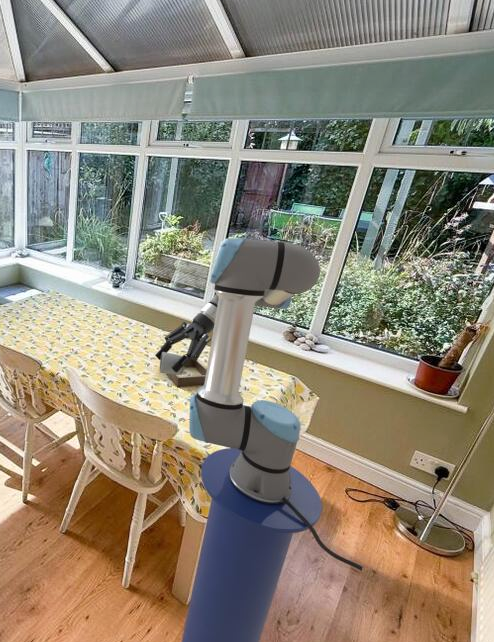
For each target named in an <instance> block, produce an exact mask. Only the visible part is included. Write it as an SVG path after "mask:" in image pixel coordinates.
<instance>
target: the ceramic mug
mask: <svg viewBox="0 0 494 642" xmlns="http://www.w3.org/2000/svg"><path fill="white" fill-rule="evenodd" d="M182 356H183V355H181V354H176V353H170V352H167V353H166V352H162V354H161V359H160V360H159V369H158V371H159V373H160V374H165V375H167V374H174V375H179V376H182V374H183V373H184V370H185V367H184V366H183V367H182V368H181V369H180V370H179V371H178V372H177V373H176V372H175V371H174V370H173V369H172V367H173V366H174V365H175V363H176V362H177V361H178V360H179V359H180V358H181V357H182Z"/></svg>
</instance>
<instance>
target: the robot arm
mask: <svg viewBox="0 0 494 642" xmlns="http://www.w3.org/2000/svg"><path fill="white" fill-rule="evenodd" d="M320 274H321V267H320V263H319V261H318V260H317V257H315V255H313V253H312V252H311V251H309V250H308V249H307V248H305V247H303V246H301V245H299V244H296V243H292V242H287V241H275V240H274V241H273V240H265V239H264V240H262V239H253V238H244V237H227V238H225V239H223V240H222V241H221V243H220V245H219V248H218V250H217V254H216V256H215V259H214V263H213V267H212V270H211V273H210V277H209V283H211V284H214V288H213V291H214V293H215V295H214V297H212V298H211V300H210V301H208V303H207V304H206V305H205V306H204V307H203V308H201V310H200V312H198V313H197V314H195V316H194V317H193V319H192V322H191V323H189V324H188V323H187V322H186V321H183V322H182V323H181V324H180V325H179V326H178V327H177V328H175V329H174V330H172V331H171V332H170V333H169V334H167V335H166V336H165V337H164V340H165V343H164V344H163V345H162V346H161V347H160V349H159V350H158V351H157V352H156V354H154V356H155V357H156V358H157V360H159V361H160V359H161V354H162V352H166V353H169V351H170V350H171V349H172V347H173V345H175V344H177V343H180V342H182V341H184V340H185V339H190V340H191V341H190V343H189V346H188V349H187V352H186V353H185V354H183V355H181V356H182V357H181V358H180V359H179V360H178V361H177V362H176V363H175V365H174V366H173V367H172V369H173V370H174V371H175V372H176V373H177V372H178V371H179V370H180V369H181V368H182V367H183V366H185V365H186V364H187V363H188V362H189V361H190V360H194V361H197V360H198V359H199V358H200V356H201V354H202V353H203V351H204V350H205V348H206V346H207V345H208V344H209V342H211V343H210V349H209V354H208V360H207V366H206V368H207V371H206V377H205V383H204V385H201V386H200V387H198V388H197V390H196V394H195V393H194V394H191V395H190V396H189V422H188V425H189V427H188V430H189V435H190V436H191V438H192V439H193V440H197V441H200V442H203V443H206V444H211V445H215V446H221V447H225V448H233V449H238V450H242V452H241V453H240V455H239V456H238V458H237V459H236V461H235V462H234V463H233V464H232V466H231V468H230V472H229V479H230V482H231V484H232V485H233V487H234V488H235V489H236V490H237V491H238V492H239V493H241V494H242V495H243V496H245V497H246V498H248V499H250V500H252V501H255V502H257V503H260V504H264V505H281V504H284V503H286V504H287V505H288V506H289V507H290V508H291V509H292V510H293V511H294V513H295V514H296V515H297V516H298V517H299V518H300V519H301V520H302V521H303V522H304V523H305V524H306V525H307V527H308V528H309V529H308V530H309V531H310V533H311V534H312V536H313V538H314V539H315V541H316V543H317V544H318V545H319V547H320V548H321V549H322V550H323V551H325V552H326V553H327V554H328V555H329V556H331V557H333V558H334V559H336V560H337V561H339V562H342V563H344V564H346V565H348V566H351V567H353V568H355V569H356V570H359V571H363V569H364V566H362V565H360V564H359V563H356V562H354V561H351V560H349V559H347V558H345V557H343V556H341V555H339V554H337V553H335V552H334V551H332V550H331V549H330V548H329V547H328V546H326V545H325V544H324V543H323V541H322V540H321V538H320V536H319V535H318V533H317V531H316V529H315V528H314V526H313V527H312V525H311V524H310V523H309V522H308V521H307V520H306V519H305V518H304V517H303V515H302V514H301V513H300V512H299V511H298V510H297V509H296V508H295V507H294V506H293V505H292V504H291V503H290V502H289V501H288V500H289V498H290V495H291V492H292V486H291V478H290V471H289V469H290V466H291V465H292V461H293V458H294V455H295V452H296V447H297V444H298V442H299V440H300V435H301V434H300V433H301V421H300V419H299V418H298V416H296V414H294V413H293V412H292V411H291V410H290V409H288V408H287V407H285V406H284V405H282V404H279V403H277V402H273V401H270V400H264V399H261V400H255V401H254V402H253V403H252V404H251V405H245V404H244V398H243V396H242V395H241V394H240V392H239V391H240V388H241V387H240V386H241V380H242V377H243V370H244V366H245V359H246V354H247V350H248V345H249V339H250V334H251V328H252V322H253V318H254V313H255V307H263V308H270V309H274V310H287V309H288V308H290V305H291V303H292V299H293V296H294V295H300V294H303V293H306V292H308V291H310V290H311V289H313V287H315V285H316V284H317V283H318V281H319V279H320V276H321V275H320ZM211 332H212V337H210V336H209V335H208V334H209V333H211Z"/></svg>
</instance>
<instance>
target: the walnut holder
mask: <svg viewBox="0 0 494 642" xmlns="http://www.w3.org/2000/svg"><path fill="white" fill-rule="evenodd" d="M188 367H190V368H195V370H196V371H198V372H199V375H185V376H181V375H174V374H166V376H167V377H168V378H169V380H170V381H171V383H173V384H174V385H175V387H176V388H186V387H187V388H188V387H189V388H190V387H199V386H200V387H201V386H203V385H204V383H205V377H206V371H207V366H205V365H204V364H203V363H202V362H201V361H199V360H198V359H197V361H194V360H190V361H189V362H188V363H187V364H186V365H185V366H184V368H188Z"/></svg>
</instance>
